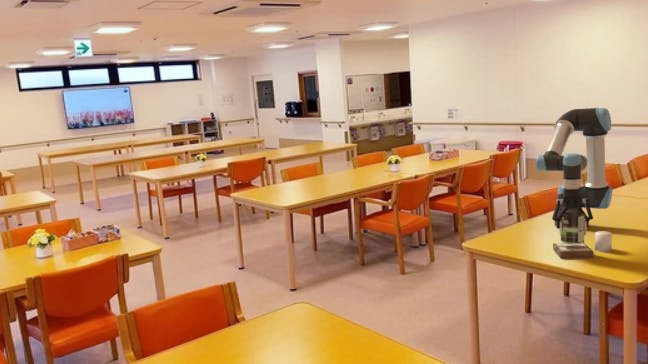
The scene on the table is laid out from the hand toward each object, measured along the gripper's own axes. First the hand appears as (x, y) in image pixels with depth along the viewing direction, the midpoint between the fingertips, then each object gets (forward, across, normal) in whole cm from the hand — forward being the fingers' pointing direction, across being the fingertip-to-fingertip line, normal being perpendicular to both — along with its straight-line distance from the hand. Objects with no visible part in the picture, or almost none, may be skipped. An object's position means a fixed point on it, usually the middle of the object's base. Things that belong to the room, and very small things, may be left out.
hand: (572, 234), depth 255 cm
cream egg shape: (+9, +15, +5) cm, 18 cm away
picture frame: (+9, 0, 0) cm, 9 cm away
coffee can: (+3, 0, 0) cm, 3 cm away
